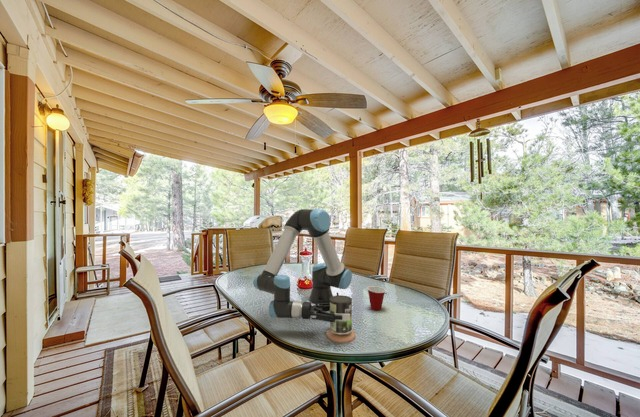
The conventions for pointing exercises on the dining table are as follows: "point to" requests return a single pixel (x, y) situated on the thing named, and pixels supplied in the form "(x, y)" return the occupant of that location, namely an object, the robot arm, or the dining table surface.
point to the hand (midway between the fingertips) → (350, 312)
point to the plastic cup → (376, 297)
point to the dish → (340, 337)
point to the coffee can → (341, 306)
